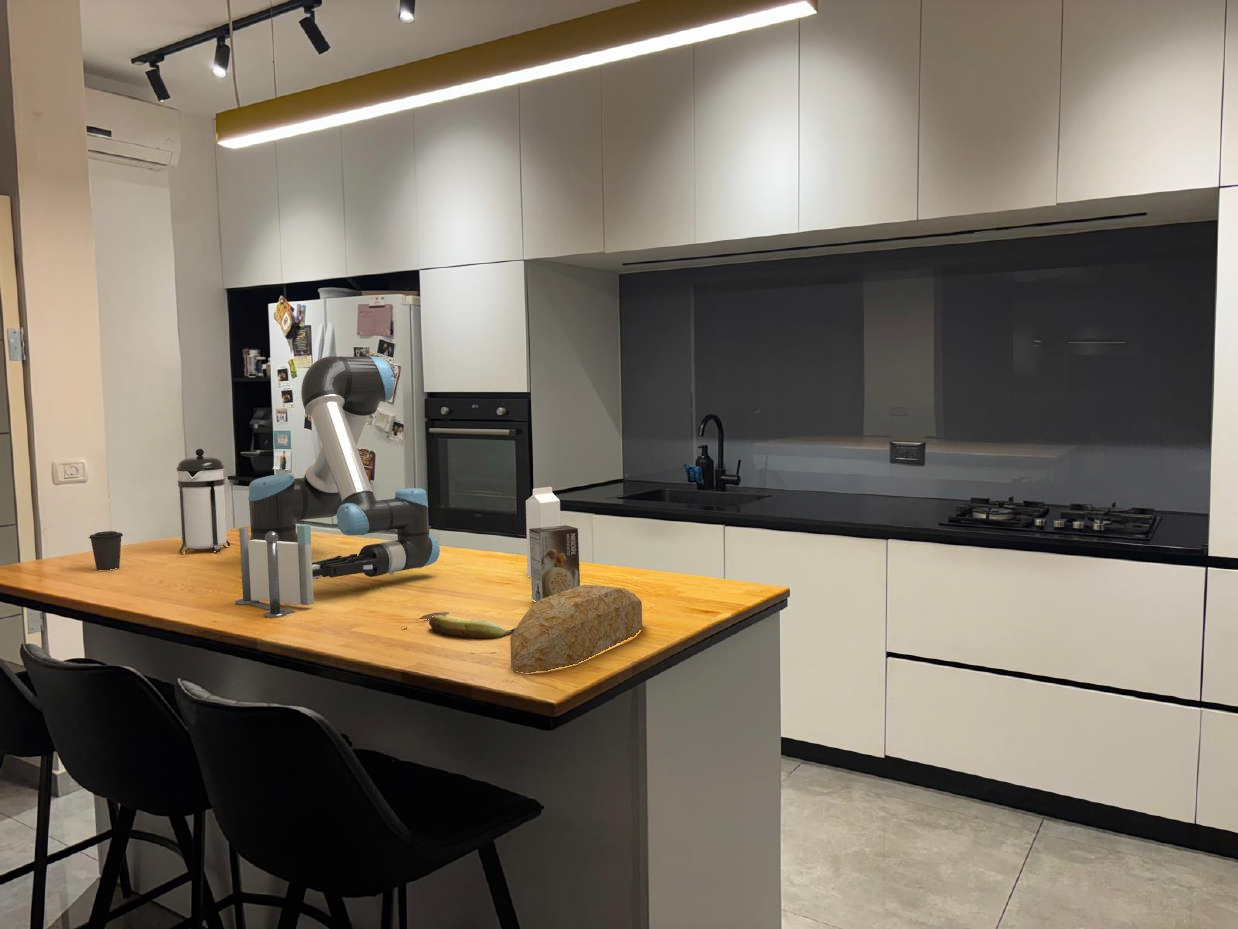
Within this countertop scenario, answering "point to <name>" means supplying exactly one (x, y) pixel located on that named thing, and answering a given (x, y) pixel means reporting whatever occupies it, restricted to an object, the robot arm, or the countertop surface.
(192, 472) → the coffee press
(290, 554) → the gate
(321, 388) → the robot arm
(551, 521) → the milk
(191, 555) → the countertop surface
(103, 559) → the coffee cup
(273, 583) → the post
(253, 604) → the sill
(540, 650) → the bread
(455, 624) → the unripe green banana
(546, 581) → the coffee box
